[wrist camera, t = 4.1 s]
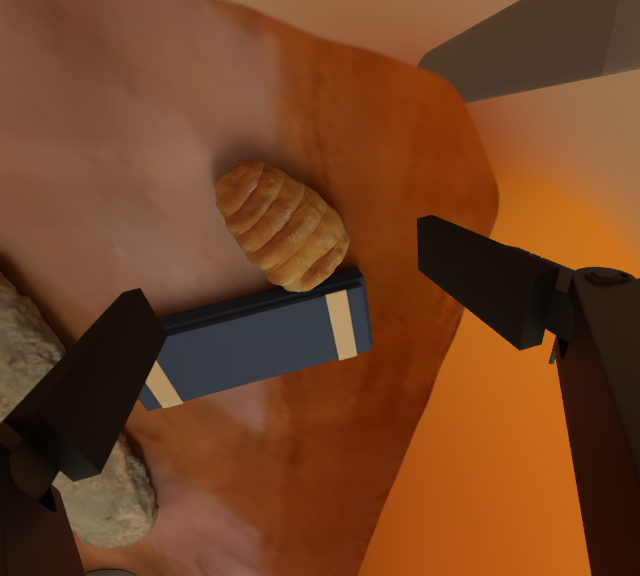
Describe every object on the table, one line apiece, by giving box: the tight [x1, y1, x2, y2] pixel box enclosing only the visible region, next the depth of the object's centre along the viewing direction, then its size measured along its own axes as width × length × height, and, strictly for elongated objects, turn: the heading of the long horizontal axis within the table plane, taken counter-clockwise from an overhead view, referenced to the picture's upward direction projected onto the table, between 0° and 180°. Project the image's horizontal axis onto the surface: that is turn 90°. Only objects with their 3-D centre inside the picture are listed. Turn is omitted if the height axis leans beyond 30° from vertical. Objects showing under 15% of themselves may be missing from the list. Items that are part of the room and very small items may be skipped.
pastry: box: [216, 160, 350, 292], centre depth 19 cm, size 9×7×4 cm
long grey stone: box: [0, 271, 159, 549], centre depth 23 cm, size 35×5×10 cm
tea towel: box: [138, 268, 373, 411], centre depth 23 cm, size 20×7×3 cm, turn 101°
